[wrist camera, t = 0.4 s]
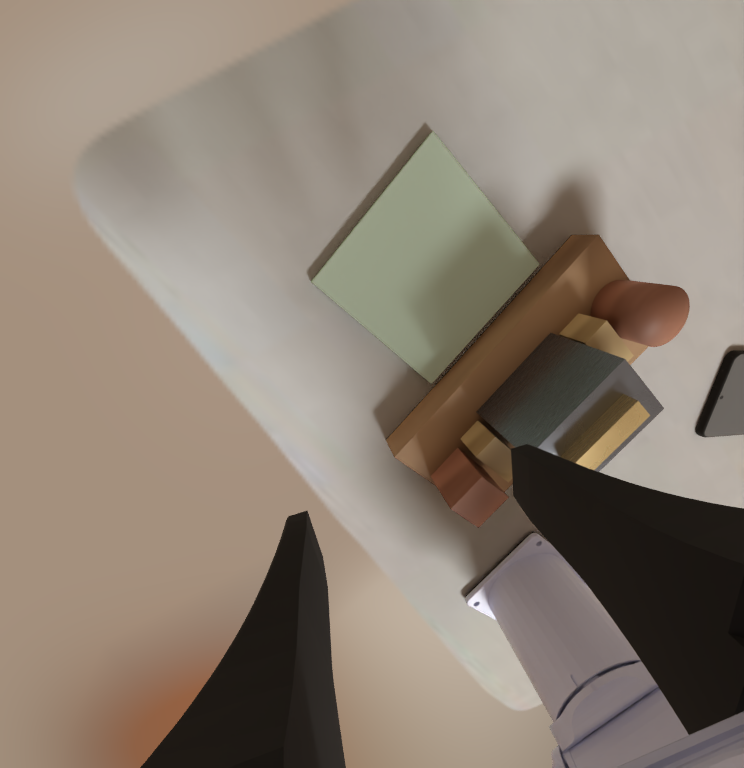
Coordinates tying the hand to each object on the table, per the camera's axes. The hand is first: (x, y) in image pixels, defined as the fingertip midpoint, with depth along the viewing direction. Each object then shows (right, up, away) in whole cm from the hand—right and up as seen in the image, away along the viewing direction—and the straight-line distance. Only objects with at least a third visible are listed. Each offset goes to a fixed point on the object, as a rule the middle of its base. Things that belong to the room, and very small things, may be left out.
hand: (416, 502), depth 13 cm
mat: (+2, +10, +8) cm, 13 cm away
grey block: (+8, +3, +9) cm, 13 cm away
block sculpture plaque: (+7, +4, +11) cm, 14 cm away
